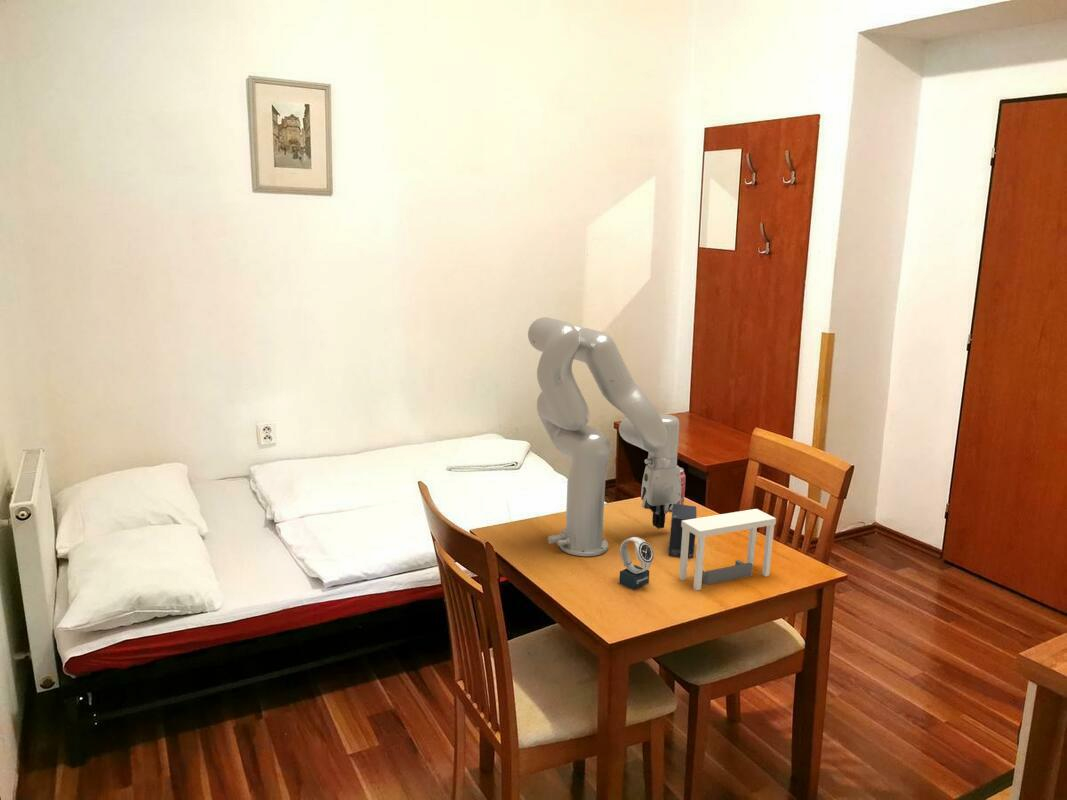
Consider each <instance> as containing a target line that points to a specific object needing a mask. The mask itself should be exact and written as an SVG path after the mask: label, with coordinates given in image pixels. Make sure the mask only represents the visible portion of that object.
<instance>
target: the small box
mask: <svg viewBox="0 0 1067 800" xmlns="http://www.w3.org/2000/svg"><path fill="white" fill-rule="evenodd" d="M697 514H698V513H697V506H695V505H689V504H688V505H687V504H683V505H680V504H673V509H672V511H671V520H670V521H671V522H670V532H669V545H668V552H667V553H668V556H671V557H679V558H680V557H681V543H682V529H683V527H681V523H682V521H683V520H689V519H695V518H698V517H697ZM695 543H696V535H694V534H693V533H691V532H690V534H689V547H688V559H693V557H694V554H695V553H694V552H695Z"/></svg>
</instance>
